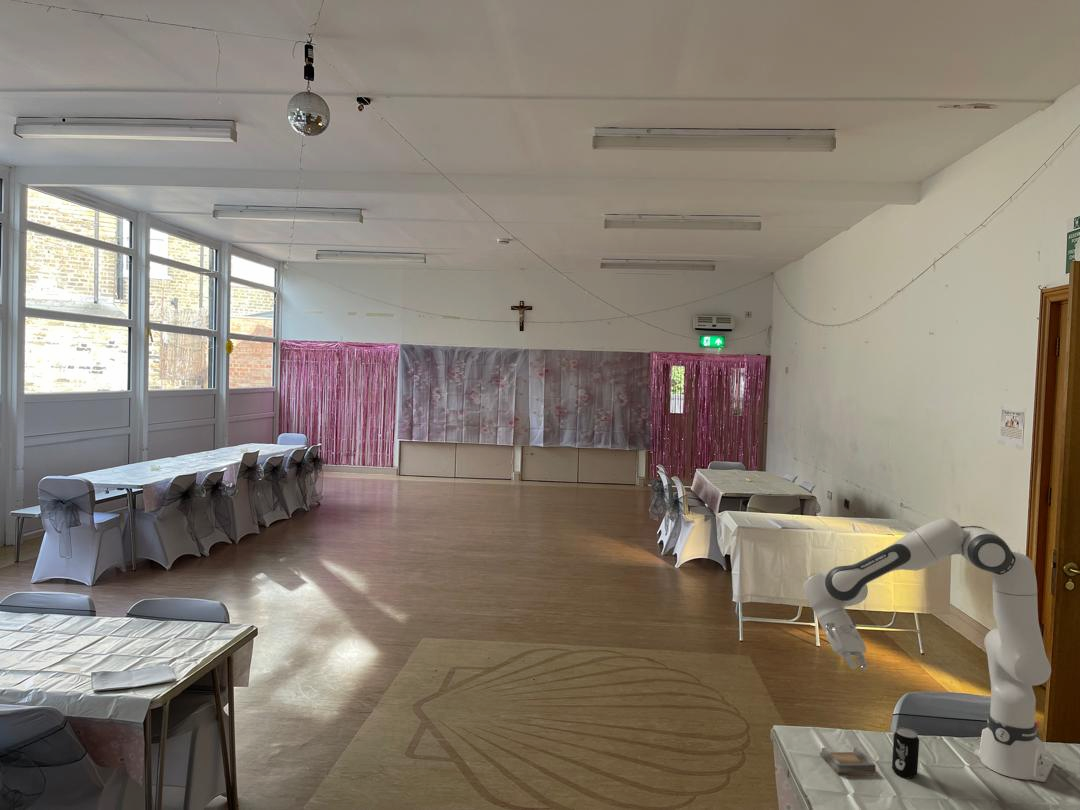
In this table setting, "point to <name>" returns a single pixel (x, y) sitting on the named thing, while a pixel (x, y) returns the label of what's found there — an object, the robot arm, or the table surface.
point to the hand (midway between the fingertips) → (860, 668)
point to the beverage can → (905, 752)
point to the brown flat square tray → (849, 762)
